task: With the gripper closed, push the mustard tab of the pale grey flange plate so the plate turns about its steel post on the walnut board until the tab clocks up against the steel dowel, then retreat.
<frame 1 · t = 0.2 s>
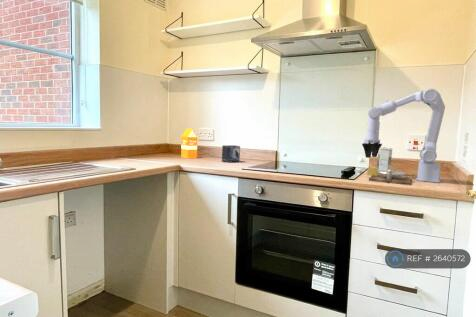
hand: (371, 157, 168), 10 cm above the worktop, tool pointing down, fingers open, 7 cm apart
syrup box: (383, 174, 178), on the worktop
flange: (385, 172, 157), point 3 cm above the worktop, hinge at 0.0°
orange juice: (188, 157, 226), on the worktop
post board: (390, 179, 156), on the worktop
small box: (230, 162, 210), on the worktop
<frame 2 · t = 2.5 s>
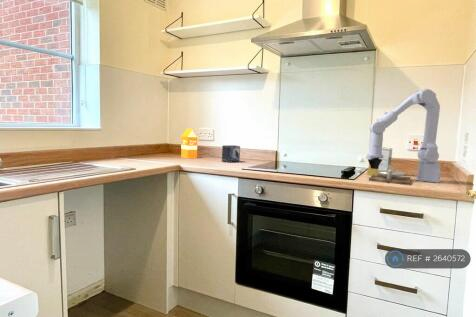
hand: (373, 173, 162), 2 cm above the worktop, tool pointing down, fingers closed
flange: (385, 172, 157), point 3 cm above the worktop, hinge at 0.0°, touching gripper
everything else where it was.
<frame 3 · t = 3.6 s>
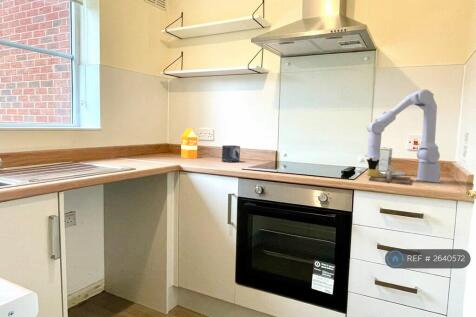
hand: (371, 173, 159), 2 cm above the worktop, tool pointing down, fingers closed, pressing on flange
flange: (386, 173, 156), point 3 cm above the worktop, hinge at 24.1°, touching gripper
everything else where it was.
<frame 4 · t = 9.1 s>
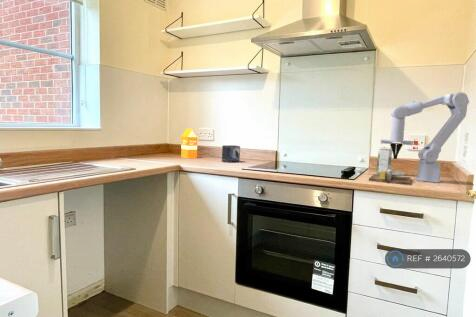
hand: (395, 158, 161), 10 cm above the worktop, tool pointing down, fingers closed
flange: (389, 173, 154), point 3 cm above the worktop, hinge at 74.1°
everything else where it was.
at the end: flange at +74° (first picture: +0°) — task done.
